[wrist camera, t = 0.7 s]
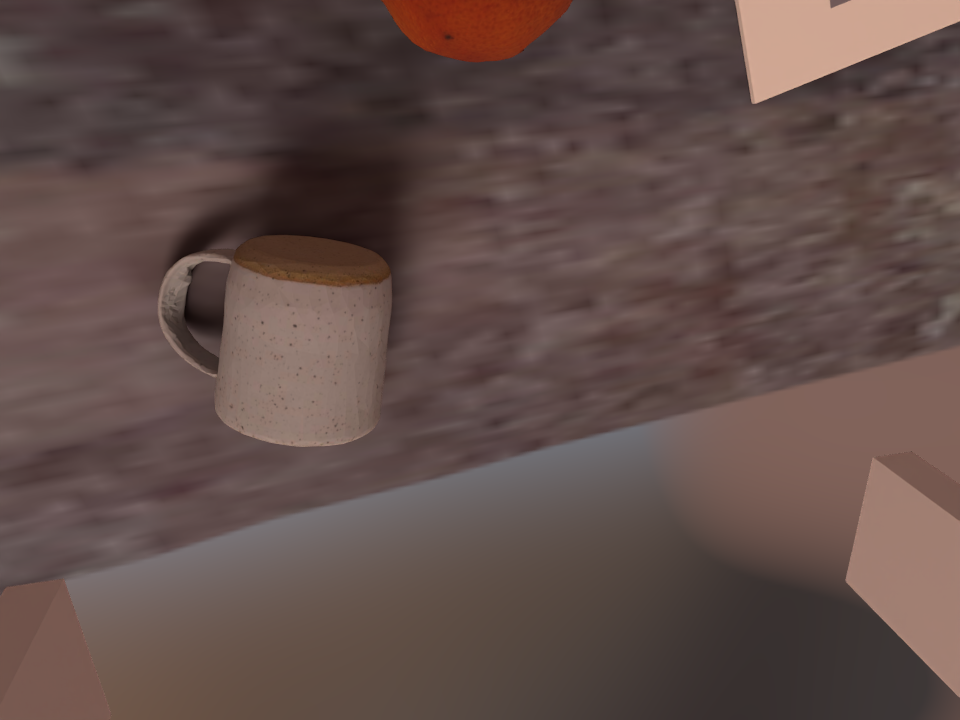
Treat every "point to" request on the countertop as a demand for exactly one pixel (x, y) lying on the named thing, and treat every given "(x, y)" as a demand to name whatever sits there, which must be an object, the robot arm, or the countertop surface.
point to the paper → (827, 36)
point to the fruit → (475, 25)
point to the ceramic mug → (292, 337)
